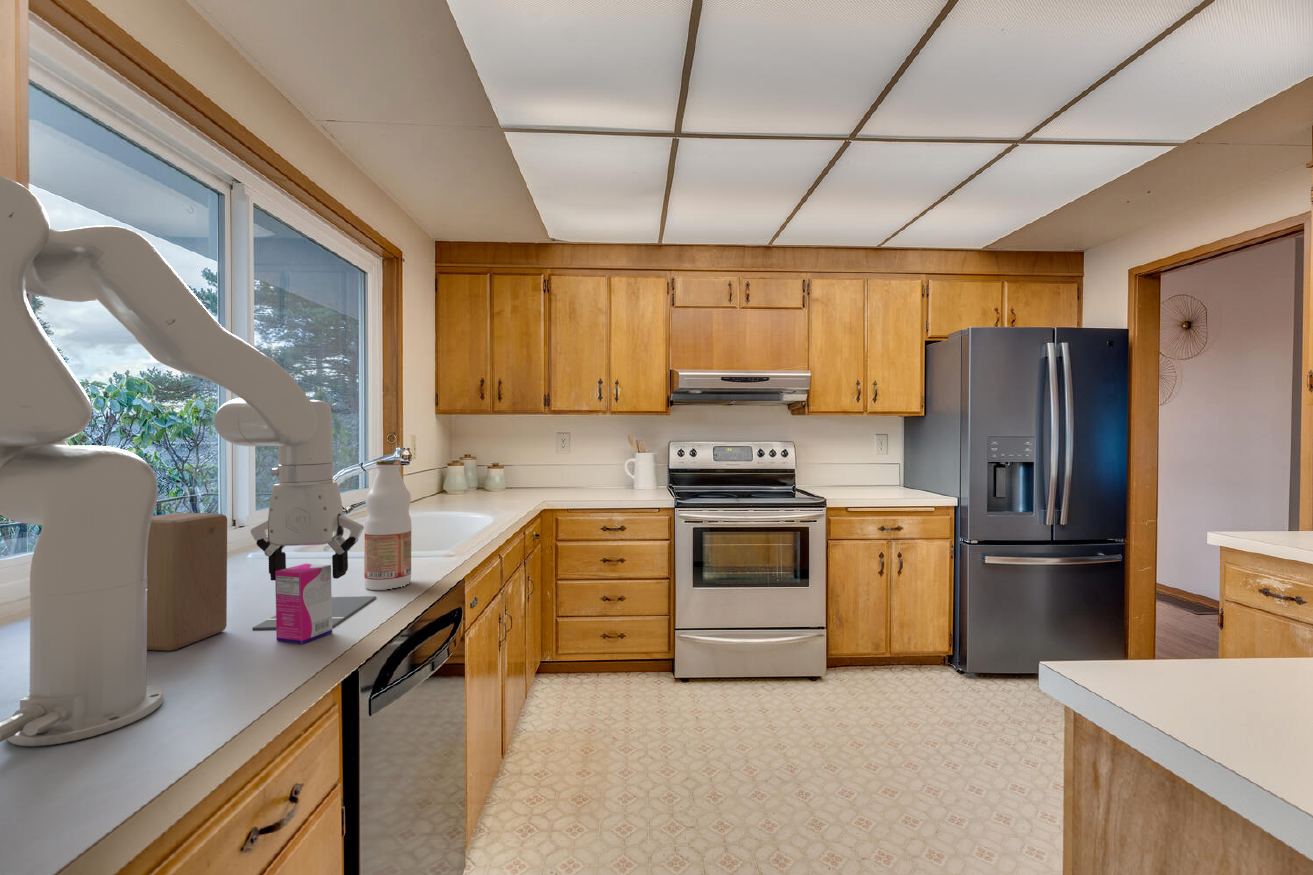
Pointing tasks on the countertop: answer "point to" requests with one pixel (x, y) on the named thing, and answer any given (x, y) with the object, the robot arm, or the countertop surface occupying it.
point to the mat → (340, 610)
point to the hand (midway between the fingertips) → (309, 577)
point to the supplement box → (303, 603)
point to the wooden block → (186, 579)
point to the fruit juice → (387, 530)
